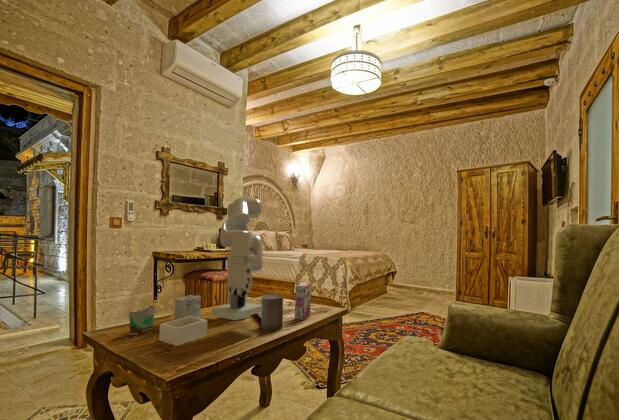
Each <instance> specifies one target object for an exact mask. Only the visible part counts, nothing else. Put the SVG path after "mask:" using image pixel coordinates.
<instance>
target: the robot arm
mask: <svg viewBox="0 0 619 420" xmlns="http://www.w3.org/2000/svg"><path fill="white" fill-rule="evenodd" d="M262 205H263V204H262V201H261V200H260V199H258V198H250V197H249V198H247V197H239V198H236V199H235V200H234V201H233V202H231V203H229V204H228V205H227V219H226V220H225V221H223V223H222V224H221V227H220V235H219V236H220V237H219V241H220V242H219V243H220V245H221V246H222V247H224V248H230V254H229V255H228V256H227V263H226V265H227V277H226V278H227V280H226V289H227V301H226V302H227V303H226V305H229V304H230V302H231V295H235V294H239V297H238V307H242V306H244V296H245V303H248V293H251V292H252V286H253V274H252V273H257V272H260V271H262V269H263V265H264V264H263V262H264V258H263V256H264V255H263V240H262V237H261V236H260V235H259V234H253V232H252V231H250V230H249V227H248V225H249V223H250V221H251V219H258V218H260V216H261V214H262V210H263V206H262ZM248 318H250V316H247V317H243V318H240V319H237V320H236V321H241V320H246V319H248ZM224 319H225V320H230V321H232V320H231V319H226V318H224Z"/></svg>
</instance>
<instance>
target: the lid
mask: <svg viewBox="0 0 619 420" xmlns="http://www.w3.org/2000/svg"><path fill="white" fill-rule="evenodd" d="M238 297H239V294H235V295H231V302H230V304H229V305H227V304H225V305H223V306H218V307H214V308H213V307H212V308H211V316H213V317H217V318H218V317H219V318H223V319H225V318H226V319H225V320H228V319H231V320H230V321H238V320H237V319H240V318H243V317H247V316H249V317H250V316H253V315H255V314H259V313H262V304H261V305H260V304H255V303H249V302H247V303H245V296H244V306H242V307H238Z"/></svg>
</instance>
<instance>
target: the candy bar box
mask: <svg viewBox="0 0 619 420" xmlns="http://www.w3.org/2000/svg"><path fill="white" fill-rule="evenodd" d="M294 299H295V301H294V302H295V303H294V305H295V306H294V320H297V321H304V320H306V319H307V318H308V317H310V316H311V301H312V300H311V299H312V283H309V282H302V283H300V284H298V285H296V286H295V298H294ZM305 318H306V319H305Z"/></svg>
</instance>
